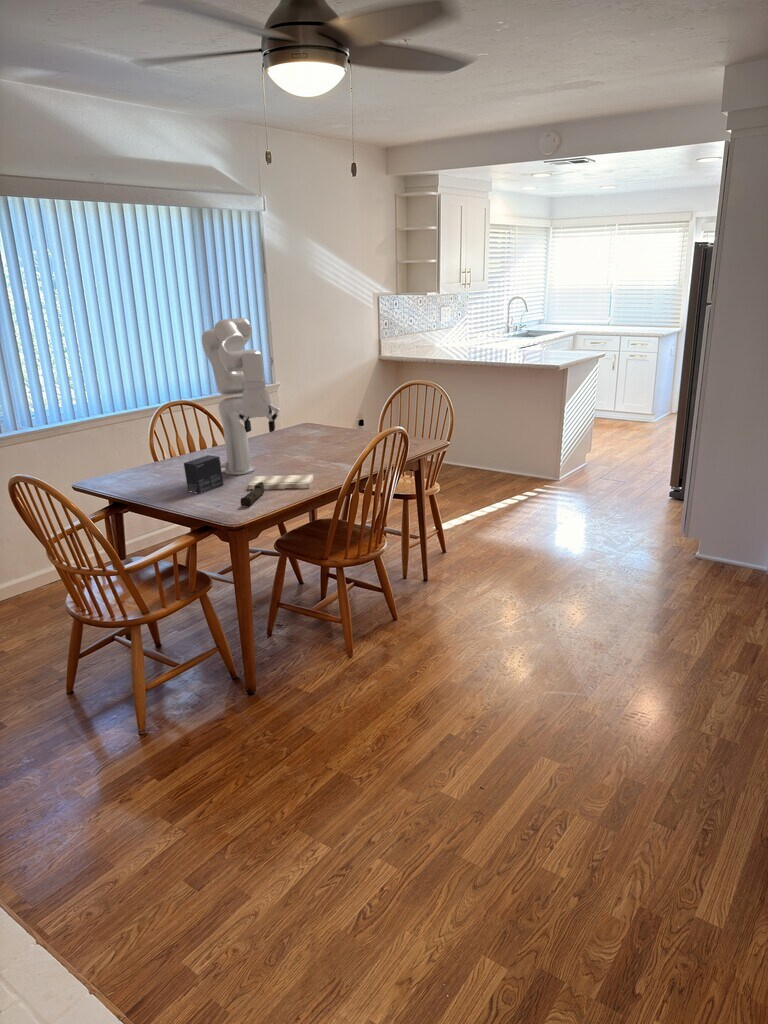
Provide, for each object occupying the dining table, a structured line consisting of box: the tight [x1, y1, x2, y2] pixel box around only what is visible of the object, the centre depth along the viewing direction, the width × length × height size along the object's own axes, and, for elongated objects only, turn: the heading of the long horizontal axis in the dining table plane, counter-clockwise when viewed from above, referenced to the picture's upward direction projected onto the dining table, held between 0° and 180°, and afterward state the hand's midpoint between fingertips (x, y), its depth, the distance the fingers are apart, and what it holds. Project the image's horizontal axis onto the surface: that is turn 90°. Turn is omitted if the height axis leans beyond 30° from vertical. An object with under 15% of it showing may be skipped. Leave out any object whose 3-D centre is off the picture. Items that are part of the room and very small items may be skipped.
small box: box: [183, 454, 224, 494], centre depth 279 cm, size 13×7×12 cm, turn 147°
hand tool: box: [240, 482, 265, 507], centre depth 264 cm, size 19×4×5 cm, turn 167°
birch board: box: [247, 474, 314, 491], centre depth 281 cm, size 24×12×2 cm, turn 88°
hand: (260, 431), depth 265 cm, fingers open, 9 cm apart
